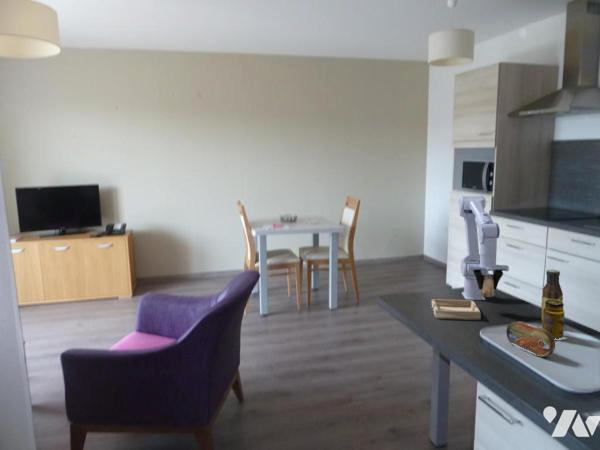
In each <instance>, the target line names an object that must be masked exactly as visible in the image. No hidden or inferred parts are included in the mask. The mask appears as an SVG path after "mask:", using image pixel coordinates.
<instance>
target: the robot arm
mask: <svg viewBox="0 0 600 450" xmlns="http://www.w3.org/2000/svg"><path fill="white" fill-rule="evenodd" d="M486 205H487V204H486V198H485V196H484V195H472V196H471V195H469V196H464V195H461V196H460V197H459V199H458V211H459V216H460V217H462V218H463V221H464V230H465V240H466V251H467V255H466V256H464V257H463V258H462V259H461V261H460V262H461V265H460V272H461V275H462V276H463V277H464V283H463V291H462V292H461V295H462V296H463V298H464V300H473V301H486V297H484V296H481V295H480V292H481V288H482V284H481V281H482V274H485V273H487V274H489V272H491V271H492V274H493V275H495V278H494V291H496V290H497V288H498V284H499V282H500V281H501V279H502V277H503V276H504V272H509V270H510V266H509V265H507V264H497V250H498V249H497V248H498V247H497V246H498V239H499V238H500V235H501V234H500V232H501V230H500V225H499V223H498V222H494V221H493V219H492V218H491V215H490V214H489V213H488V212H486V211H485V208H486ZM479 243H480V244H479ZM479 245H480V246H479Z"/></svg>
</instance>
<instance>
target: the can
mask: <svg viewBox="0 0 600 450" xmlns="http://www.w3.org/2000/svg"><path fill="white" fill-rule="evenodd" d="M494 278H495V275H493V273H488V274H487V273H485V274H482V281H481V284H482V288H481V292H480V295H481V296H484V298H492V297H494V296H495V290H494Z"/></svg>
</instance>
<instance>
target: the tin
mask: <svg viewBox="0 0 600 450" xmlns="http://www.w3.org/2000/svg"><path fill="white" fill-rule="evenodd" d="M506 338H507V340H508V341H509V343H510V344H511V343H514V344H516V345H518V346H520V347H522V348H524V349H526V350H529V351H531V352H533V353H535V354H536V355H539V356H540V357H539V358H544V357H547V356H550V355H552V354H553V353H554V352H555V349H556V341H555V340H554V338H553V336H552V335H551V334H550V333H549V332H548V331H547V330H545V329H542V328H541V327H539V326H536V325H533V324H530V323H528V322H524V321H520V320H519V321H512V322H510V323H509V324H508V325H507V326H506Z"/></svg>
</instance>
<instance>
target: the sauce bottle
mask: <svg viewBox="0 0 600 450" xmlns="http://www.w3.org/2000/svg"><path fill="white" fill-rule="evenodd" d="M545 274H546V283H545V285H544V286H543V288H542V297H541V323H542V325H543V310H544V308H545V302H546V301H547V300H557V301H560V302H562V303H563V299H564V296H563V295H564V293H563V290H562V287H561V284H560V275H561V271H560V270H557V269H547V270H546V273H545ZM563 304H564V303H563Z"/></svg>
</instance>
